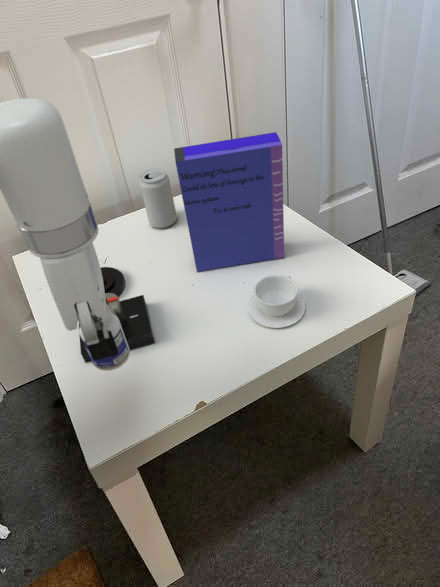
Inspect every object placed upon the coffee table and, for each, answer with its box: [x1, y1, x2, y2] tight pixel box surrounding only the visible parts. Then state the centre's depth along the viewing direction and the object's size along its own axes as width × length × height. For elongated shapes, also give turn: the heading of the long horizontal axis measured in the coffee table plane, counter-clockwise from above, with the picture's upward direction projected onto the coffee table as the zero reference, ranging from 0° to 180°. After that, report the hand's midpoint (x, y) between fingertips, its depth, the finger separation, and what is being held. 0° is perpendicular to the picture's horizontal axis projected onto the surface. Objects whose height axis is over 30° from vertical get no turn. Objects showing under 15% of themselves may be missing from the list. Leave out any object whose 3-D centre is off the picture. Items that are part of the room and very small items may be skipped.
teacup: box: [247, 274, 307, 329], centre depth 79 cm, size 10×10×5 cm
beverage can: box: [138, 168, 178, 229], centre depth 100 cm, size 6×6×12 cm
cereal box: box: [173, 131, 285, 273], centre depth 84 cm, size 17×5×24 cm, turn 97°
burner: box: [100, 266, 126, 297], centre depth 89 cm, size 10×10×2 cm
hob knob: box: [105, 293, 126, 327], centre depth 77 cm, size 4×4×5 cm
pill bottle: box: [78, 304, 131, 372], centre depth 60 cm, size 5×5×9 cm
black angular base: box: [78, 294, 156, 363], centre depth 80 cm, size 12×10×3 cm
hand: (103, 338), depth 60 cm, fingers closed on pill bottle, 5 cm apart
